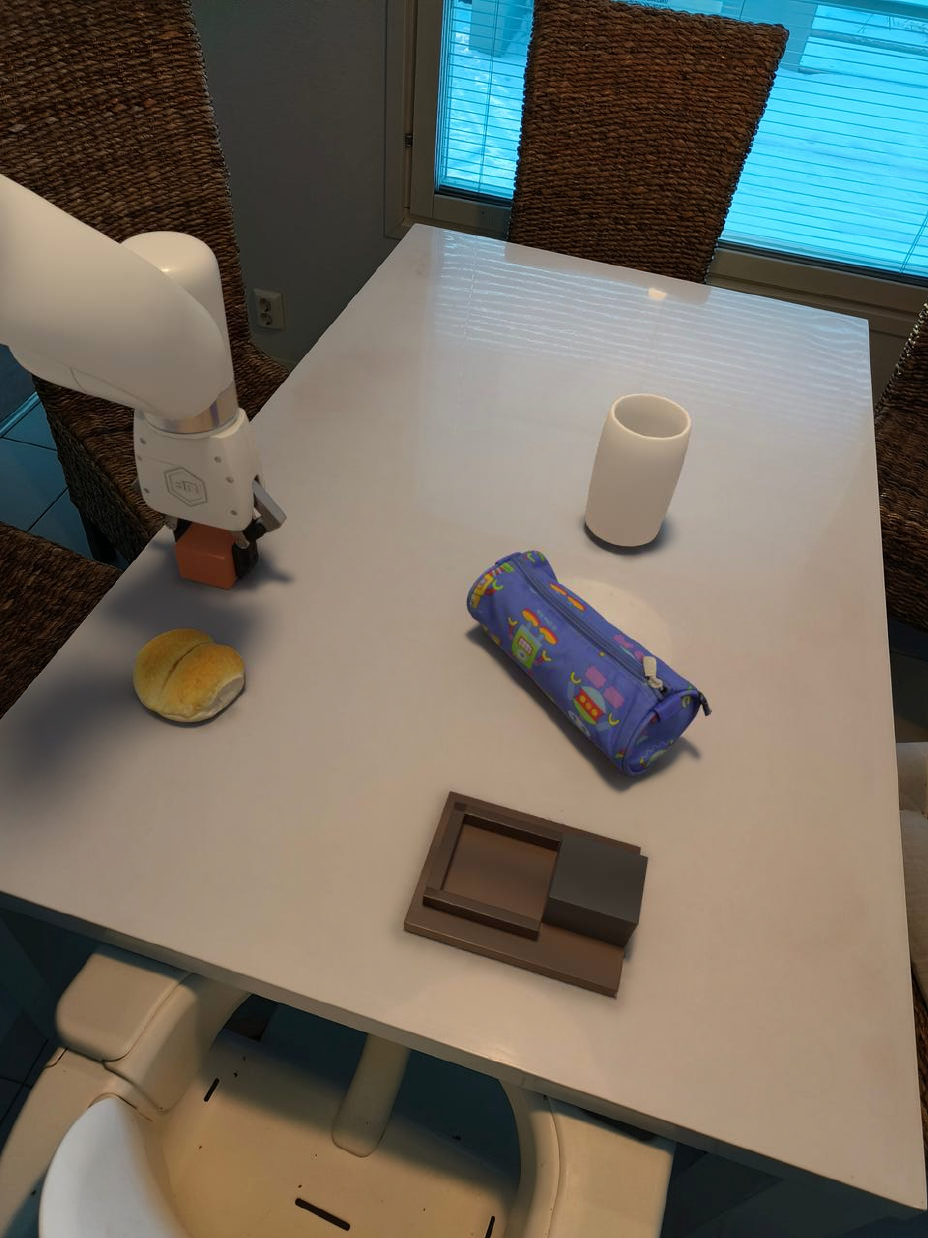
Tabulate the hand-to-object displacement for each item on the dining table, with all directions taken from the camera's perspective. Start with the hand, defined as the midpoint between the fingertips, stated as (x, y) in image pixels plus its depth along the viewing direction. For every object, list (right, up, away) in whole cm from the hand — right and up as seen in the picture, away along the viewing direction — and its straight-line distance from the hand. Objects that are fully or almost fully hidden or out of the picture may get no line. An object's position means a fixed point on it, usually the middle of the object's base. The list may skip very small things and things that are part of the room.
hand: (219, 559), depth 82 cm
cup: (+40, +4, +8) cm, 41 cm away
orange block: (0, 0, 0) cm, 0 cm away
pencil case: (+33, -12, -7) cm, 36 cm away
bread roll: (0, -11, -10) cm, 15 cm away
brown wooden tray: (+28, -25, -20) cm, 43 cm away
